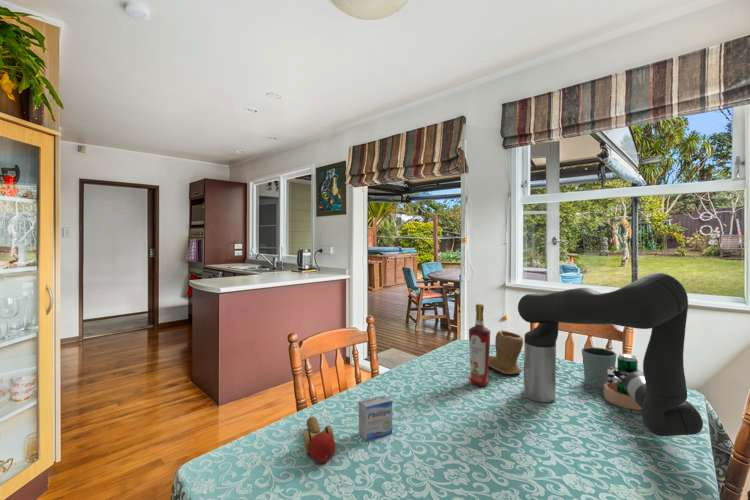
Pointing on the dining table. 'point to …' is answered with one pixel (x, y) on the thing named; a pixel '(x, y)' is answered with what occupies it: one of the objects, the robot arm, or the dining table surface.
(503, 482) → the dining table surface
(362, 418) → the medicine box
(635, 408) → the bowl
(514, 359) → the tan boot
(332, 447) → the kendama
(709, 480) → the dining table surface
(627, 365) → the soda can
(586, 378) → the grey-green tumbler
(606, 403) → the mat
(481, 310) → the liquor
